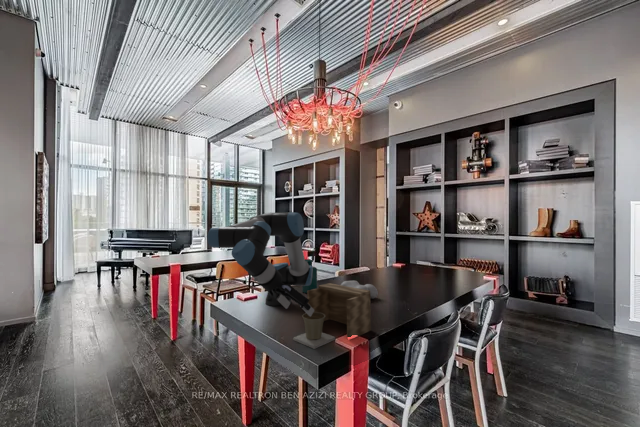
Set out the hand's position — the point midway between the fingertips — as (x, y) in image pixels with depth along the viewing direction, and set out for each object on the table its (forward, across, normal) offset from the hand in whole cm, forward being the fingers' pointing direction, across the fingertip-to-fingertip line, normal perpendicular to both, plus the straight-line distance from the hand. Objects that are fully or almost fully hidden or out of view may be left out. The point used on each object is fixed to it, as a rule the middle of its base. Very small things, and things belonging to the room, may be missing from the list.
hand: (299, 309), depth 110 cm
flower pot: (+15, 0, -4) cm, 15 cm away
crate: (+27, -1, +7) cm, 28 cm away
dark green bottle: (+56, -61, +34) cm, 89 cm away
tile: (+15, 0, -4) cm, 16 cm away
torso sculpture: (+66, -31, +44) cm, 85 cm away
